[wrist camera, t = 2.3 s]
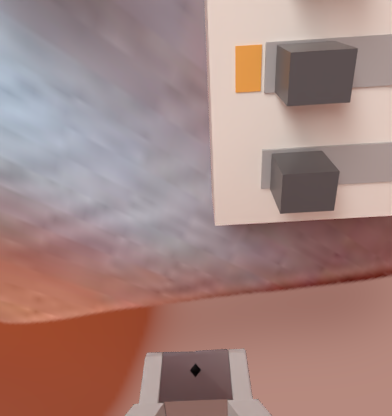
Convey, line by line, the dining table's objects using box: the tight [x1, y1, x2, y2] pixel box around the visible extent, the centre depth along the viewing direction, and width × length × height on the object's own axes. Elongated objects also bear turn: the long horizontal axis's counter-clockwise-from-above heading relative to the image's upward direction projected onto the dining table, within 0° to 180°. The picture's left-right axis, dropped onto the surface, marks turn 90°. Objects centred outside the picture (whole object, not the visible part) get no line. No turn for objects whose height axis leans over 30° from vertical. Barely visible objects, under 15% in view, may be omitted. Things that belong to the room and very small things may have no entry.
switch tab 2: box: [270, 151, 340, 214], centre depth 22 cm, size 3×2×3 cm
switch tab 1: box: [275, 41, 358, 106], centre depth 19 cm, size 3×2×3 cm
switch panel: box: [204, 0, 392, 226], centre depth 22 cm, size 15×20×4 cm
